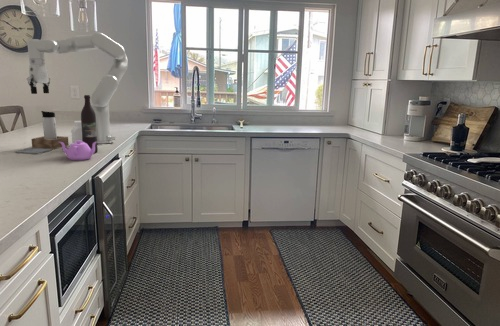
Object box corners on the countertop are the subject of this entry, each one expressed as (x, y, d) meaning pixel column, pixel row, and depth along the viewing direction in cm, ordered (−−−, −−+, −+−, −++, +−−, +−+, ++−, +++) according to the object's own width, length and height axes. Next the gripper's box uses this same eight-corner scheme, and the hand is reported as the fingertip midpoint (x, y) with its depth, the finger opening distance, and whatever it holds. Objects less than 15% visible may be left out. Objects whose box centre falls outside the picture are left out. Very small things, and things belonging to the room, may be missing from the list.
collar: (68, 145, 211) (68, 136, 210) (54, 149, 198) (53, 140, 197) (47, 144, 212) (46, 135, 211) (32, 147, 199) (31, 138, 198)
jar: (70, 149, 198) (68, 122, 195) (75, 146, 208) (73, 120, 204) (93, 149, 201) (91, 122, 197) (96, 146, 210) (95, 120, 207)
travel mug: (42, 146, 205) (39, 110, 200) (55, 145, 209) (52, 110, 205) (46, 147, 200) (43, 111, 196) (59, 146, 205) (56, 111, 201)
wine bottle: (81, 153, 189) (77, 95, 182) (85, 151, 195) (81, 94, 189) (95, 153, 190) (92, 95, 183) (99, 151, 196) (96, 95, 190)
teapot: (98, 158, 180) (98, 140, 178) (70, 162, 169) (69, 143, 167) (87, 154, 187) (86, 137, 185) (59, 158, 177) (58, 140, 175)
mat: (52, 150, 196) (52, 148, 195) (37, 154, 184) (37, 153, 184) (31, 148, 197) (31, 147, 196) (15, 152, 185) (15, 151, 185)
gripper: (31, 61, 194) (35, 94, 198) (53, 63, 211) (56, 93, 215) (19, 61, 196) (23, 93, 199) (41, 63, 212) (44, 92, 216)
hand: (40, 93), depth 207 cm, fingers open, 9 cm apart
